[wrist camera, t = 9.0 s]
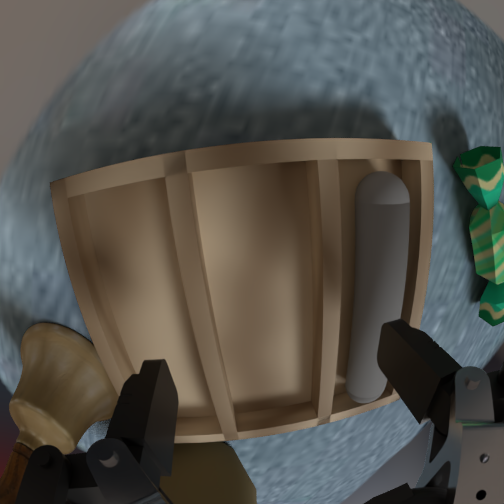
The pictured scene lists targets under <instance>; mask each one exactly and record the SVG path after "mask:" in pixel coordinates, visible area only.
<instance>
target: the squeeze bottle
mask: <svg viewBox="0 0 504 504" xmlns="http://www.w3.org/2000/svg"><path fill="white" fill-rule="evenodd" d="M159 486H160V487H161V488H162V490H163V491H164V492H165V493H166V495H167V496H168V497H169V498H170V499H171V501H172V502H173V503H174V504H257V501H256V488H255V486H254V485H253V483H252V481H251V479H250V478H249V476H248V474H247V472H246V471H245V469H244V467H243V465H242V463H241V462H240V460H239V458H238V456H237V454H236V453H235V451H234V449H233V448H231V447H229V446H228V445H226V444H225V443H222V442H219V441H217V442H200V443H174V450H173V460H172V472H171V477H170V476H160V485H159Z"/></svg>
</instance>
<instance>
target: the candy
mask: <svg viewBox="0 0 504 504" xmlns="http://www.w3.org/2000/svg"><path fill="white" fill-rule="evenodd" d="M460 156H461V161H462V165H461V163H460V160H459V158H458V157H457V158H456V160H455V163H454V165H453V168H454V169H455V171H456V172H457V174H458V175H459V177H460V179H461V180H462V182H463V183H464V185H465V187H466V188H467V190H468V191H469V192H470V194H471V195H472V196H473V197H474V198H475V200H476V201H477V202H478V203H479V204H478V205H477V206H476V208H475V209H474V210H473V212H472V214H471V217H470V224H469V229H470V234H471V240H472V246H473V252H474V259H475V267H476V273H477V274H478V275H480V276H482V277H484V278H486V279H488V280H489V282H488V284H487V286H486V288H485V290H484V293H483V295H482V297H481V299H480V309H479V317H480V318H482V319H483V320H485V321H486V322H487V323H489V324H490V325H492V326H495V325H498V324H500V323H502V322H504V204H503V203H501V202H500V201H499V197H500V193H501V189H502V185H503V181H504V166H503V159H502V153H501V147H488V146H479V147H477V148H474V149H472V150H470V151H467V152H465V153H462V154H460ZM462 166H463V168H462Z"/></svg>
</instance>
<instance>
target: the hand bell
mask: <svg viewBox="0 0 504 504" xmlns="http://www.w3.org/2000/svg"><path fill="white" fill-rule="evenodd" d="M21 359H22V364H23V370H22V374H21V378H20V381H19V384H18V386H17V388H16V391H15V393H14V395H13V397H12V399H11V401H10V404H9V409H10V414H11V416H12V418H13V420H14V422H15V423H16V425H17V426H18V427H19V429H20V434H19V436H18V438H17V441H16V443H15V445H14V447H13V452H12V453H11V455H10V458H9V460H8V463H7V465H6V468H5V471H4V473H3V475H2V477H1V479H0V504H15V501H16V497H17V494H18V490H19V487H20V484H21V481H22V478H23V475H24V472H25V469H26V466H27V463H28V461H29V458H30V456H31V454H32V452H33V451H34V450H35V449H36V448H38V447H40V446H42V445H52V446H55V447H57V448H58V449H59V450H60V451H61V452H62V453H63V454H68V453H71V452H72V451H73V450H74V449H75V448H76V446H77V444H78V442H79V440H80V439H81V437H82V436H83V434H84V433H85V432H86V430H87V429H88V428H89V427H90V426H91V425H92V424H94V423H95V422H97V421H104V420H107V419H110V418H112V415H113V412H114V409H115V407H116V405H117V401H118V398H119V396H118V394H117V392H116V390H115V388H114V386H113V384H112V382H111V380H110V378H109V376H108V374H107V372H106V370H105V368H104V366H103V364H102V362H101V360H100V357H99V355H98V353H97V351H96V348H95V346H94V344H92V343H91V342H90V341H89V340H87V339H86V338H84V337H83V336H82V335H80V334H78V333H77V332H75V331H73V330H72V329H69V328H67V327H64V326H61V325H58V324H53V323H38V324H35V325H33V326H31V327H30V328H29V329H27V331H26V332H25V334H24V336H23V338H22V342H21Z"/></svg>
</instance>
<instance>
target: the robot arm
mask: <svg viewBox="0 0 504 504" xmlns="http://www.w3.org/2000/svg"><path fill="white" fill-rule="evenodd" d="M377 363H378V366H379V368H380V370H381V371H382V373H383V374H384V375H385V377H386V378H387V380H388V381H389V382H390V384H391V385H392V386H393V388H394V389H395V391H396V392H397V393H398V395H399V396H400V397H401V399H402V400H403V402H404V403H405V404H406V406H407V407H408V409H409V410H410V412H411V413H412V414H413V416H414V417H415V419H416V420H417V421H418V423H419V424H422V423H424V422H426V421H428V420H430V419H431V421H432V422H433V424H432V426H431V429H430V437H429V443H428V449H427V454H426V460H425V465H424V469H423V472H422V474H421V476H420V478H419V480H418V482H417V484H416V487H415V488H413V489H410V487H409V485H408V484H407V483H405V484H403V485H401V486H399V487H397V488H395V489H393V490H390V491H388V492H386V493H383V494H381V495H378V496H376V497H373V498H372V499H370V500H369V501H367V502H366V503H364V504H504V362H503V364H502V367H501V369H500V370H498V371H494V372H491V373H486V372H485V371H483V370H482V369H480V368H477V367H473V366H467V367H463V368H462V367H461V366H460V365H459V364H458V363H457V362H456V361H455V360H454V359H453V358H452V357H451V356H450V355H449V354H448V353H447V352H446V351H445V350H443V349H442V348H441V347H439V345H438V344H437V343H436V342H435V341H433V339H432V338H431V337H429V336H428V335H427V334H426V333H425V332H423V331H421V330H419V329H417V328H414V327H413V328H412V327H411V326H410V325H409V324H408V323H407V322H405V321H404V320H403V319H397V320H393V321H390V322H386V323H384V324H383V325H382V327H381V333H380V339H379V345H378V351H377ZM178 404H179V400H178V393H177V389H176V386H175V384H174V381H173V378H172V375H171V373H170V370H169V367H168V364H167V362H166V360H165V359H152V360H144V361H143V363H142V366H141V369H140V372H139V374H132V375H131V376H130V377H129V378H128V379H127V380H126V381H125V383H124V384H123V387H122V390H121V392H120V396H119V398H118V401H117V405H116V407H115V409H114V412H113V415H112V418H111V421H110V424H109V427H108V431H107V434H106V437H105V439H101V440H98V441H96V442H95V443H93V444H92V445H91V446H90V448H89V449H88V451H87V452H86V453H79V454H70V455H64V454H63V453H62V452H61V451H60V450H59V449H58V448H57V447H55V446H52V445H42V446H40V447H38V448H36V449H35V450H34V451H33V452H32V454H31V456H30V458H29V461H28V463H27V466H26V469H25V472H24V475H23V478H22V481H21V484H20V487H19V490H18V494H17V497H16V501H15V504H174V503H173V502H172V501H171V499H170V498H169V497H168V496H167V495H166V493H165V492H164V491H163V490H162V488H161V487H160V486H159V485H160V476H170V477H171V472H172V460H173V450H174V440H175V430H176V421H177V413H178Z"/></svg>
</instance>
